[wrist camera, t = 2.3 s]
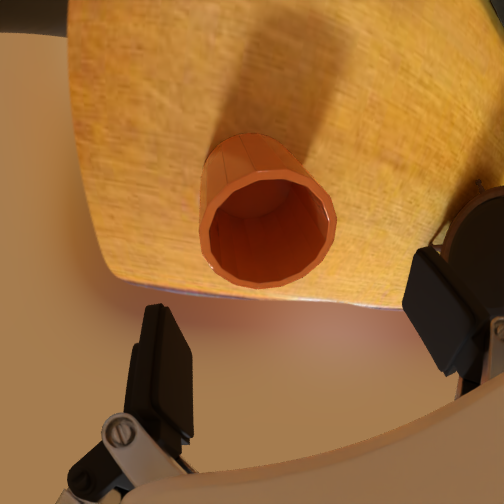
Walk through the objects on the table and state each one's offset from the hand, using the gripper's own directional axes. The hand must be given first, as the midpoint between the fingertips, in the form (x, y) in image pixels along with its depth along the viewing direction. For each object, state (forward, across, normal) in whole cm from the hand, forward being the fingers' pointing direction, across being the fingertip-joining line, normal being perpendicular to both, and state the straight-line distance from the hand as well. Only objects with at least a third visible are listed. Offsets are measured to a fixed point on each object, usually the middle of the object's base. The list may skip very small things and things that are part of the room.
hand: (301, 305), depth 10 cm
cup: (+12, 0, 0) cm, 12 cm away
